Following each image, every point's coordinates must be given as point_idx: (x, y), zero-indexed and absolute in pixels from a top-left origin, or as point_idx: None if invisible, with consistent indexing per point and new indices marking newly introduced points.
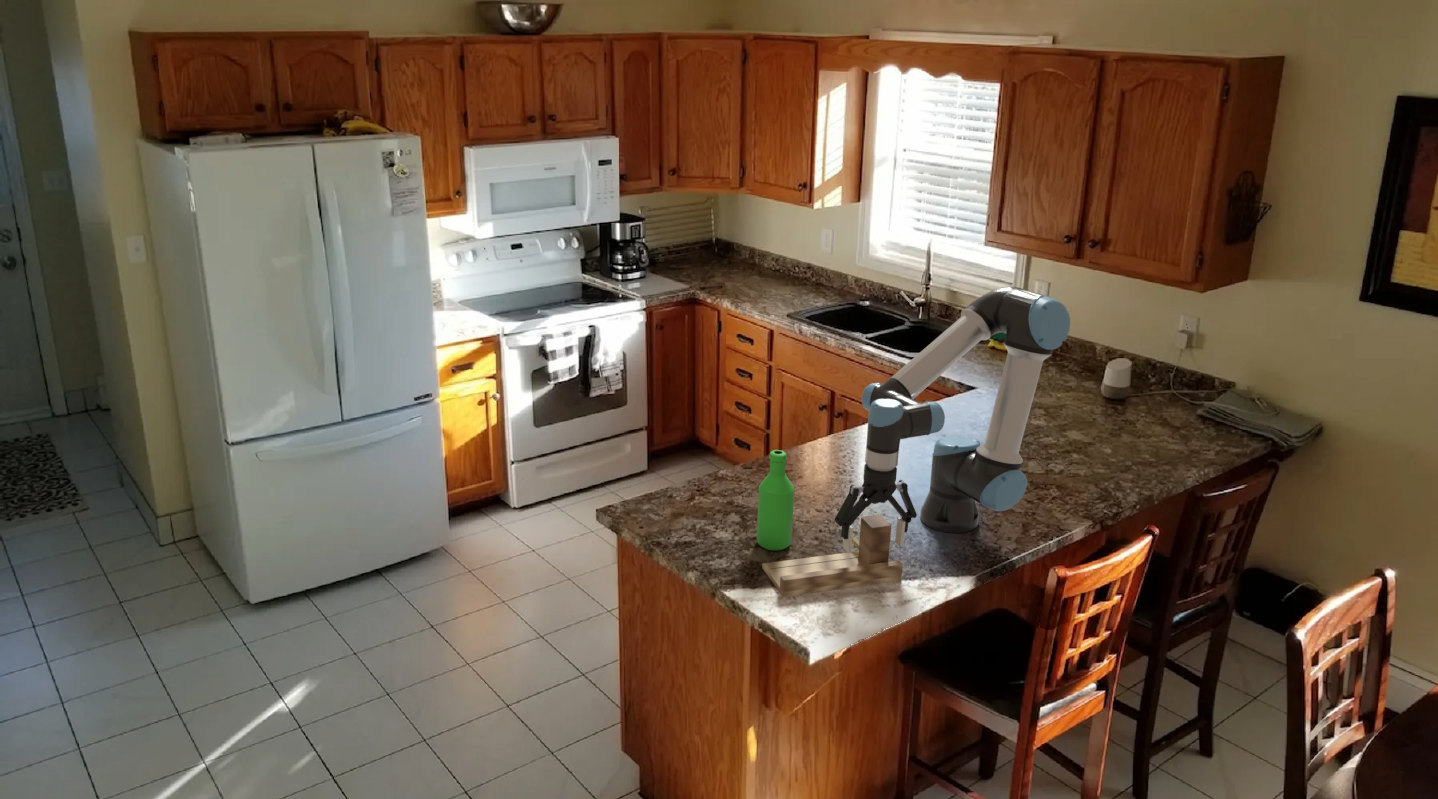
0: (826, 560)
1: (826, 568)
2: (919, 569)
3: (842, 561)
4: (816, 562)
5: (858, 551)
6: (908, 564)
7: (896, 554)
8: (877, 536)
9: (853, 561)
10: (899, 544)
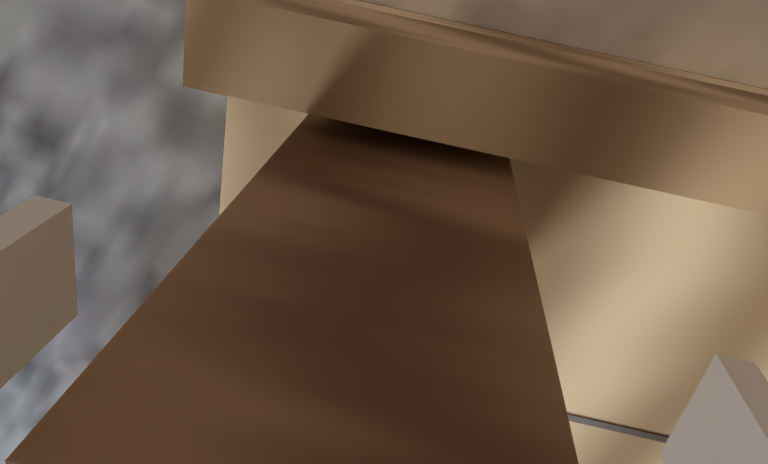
0: (633, 444)
1: None
2: (18, 62)
3: None
4: None
5: None
6: (70, 166)
7: (92, 310)
8: (429, 363)
9: None
10: (59, 231)
